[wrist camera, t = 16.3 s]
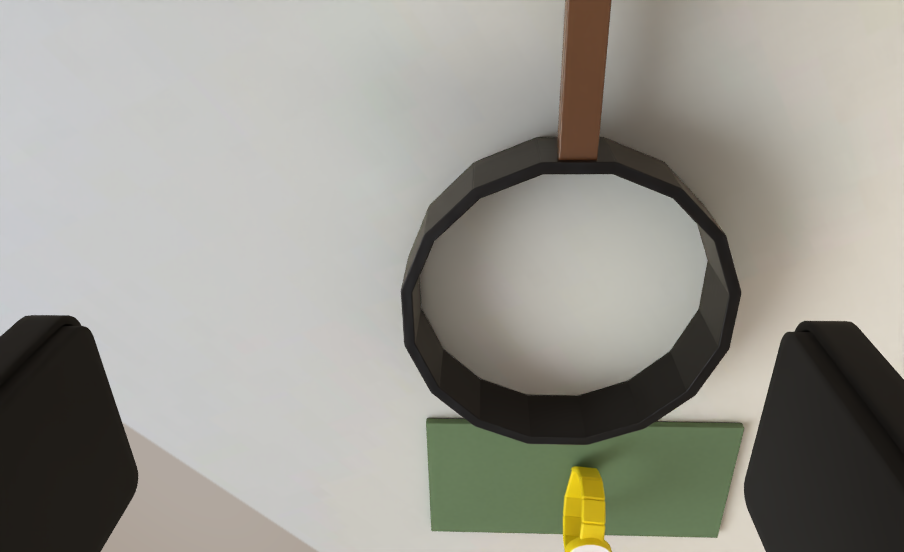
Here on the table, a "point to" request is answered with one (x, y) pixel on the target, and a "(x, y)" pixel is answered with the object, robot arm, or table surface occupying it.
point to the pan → (575, 155)
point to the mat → (549, 466)
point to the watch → (584, 512)
